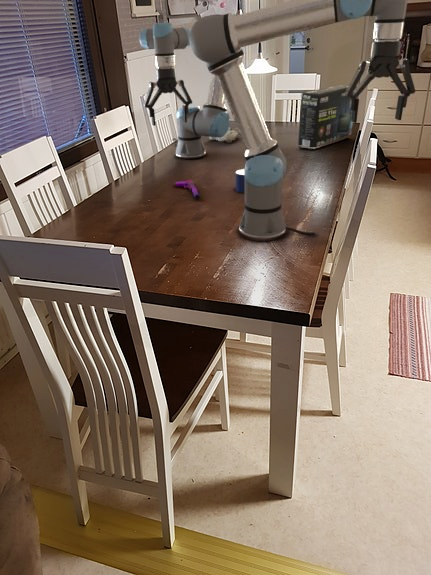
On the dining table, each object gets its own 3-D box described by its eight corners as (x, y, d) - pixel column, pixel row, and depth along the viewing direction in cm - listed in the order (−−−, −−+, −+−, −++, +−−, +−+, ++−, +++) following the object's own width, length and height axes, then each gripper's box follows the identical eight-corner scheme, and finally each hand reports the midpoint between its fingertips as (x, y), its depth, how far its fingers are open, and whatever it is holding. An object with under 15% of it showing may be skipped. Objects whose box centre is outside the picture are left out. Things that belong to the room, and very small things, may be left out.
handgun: (174, 185, 194) (174, 180, 193) (192, 183, 195) (192, 178, 194) (181, 201, 176) (180, 197, 175) (200, 199, 177) (200, 194, 176)
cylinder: (258, 189, 185) (258, 172, 182) (244, 194, 181) (244, 176, 178) (245, 185, 191) (245, 168, 187) (231, 189, 187) (231, 172, 183)
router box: (314, 151, 231) (318, 94, 217) (296, 148, 237) (299, 92, 224) (352, 138, 251) (358, 85, 238) (335, 135, 258) (340, 83, 245)
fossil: (231, 137, 247) (212, 119, 250) (221, 153, 253) (203, 136, 256) (247, 135, 260) (230, 119, 264) (237, 151, 267) (220, 135, 270)
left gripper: (136, 70, 175) (142, 128, 185) (198, 66, 182) (200, 122, 193) (132, 68, 181) (138, 124, 191) (192, 65, 188) (194, 119, 199)
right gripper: (424, 37, 131) (410, 115, 142) (338, 41, 129) (331, 120, 140) (437, 39, 124) (422, 120, 135) (347, 43, 123) (339, 125, 134)
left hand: (169, 123), depth 192 cm, fingers open, 13 cm apart
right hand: (375, 120), depth 138 cm, fingers open, 13 cm apart
